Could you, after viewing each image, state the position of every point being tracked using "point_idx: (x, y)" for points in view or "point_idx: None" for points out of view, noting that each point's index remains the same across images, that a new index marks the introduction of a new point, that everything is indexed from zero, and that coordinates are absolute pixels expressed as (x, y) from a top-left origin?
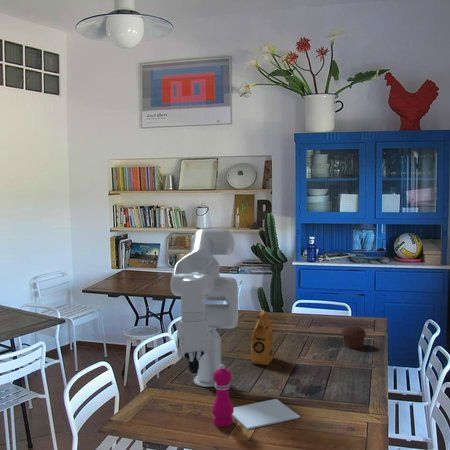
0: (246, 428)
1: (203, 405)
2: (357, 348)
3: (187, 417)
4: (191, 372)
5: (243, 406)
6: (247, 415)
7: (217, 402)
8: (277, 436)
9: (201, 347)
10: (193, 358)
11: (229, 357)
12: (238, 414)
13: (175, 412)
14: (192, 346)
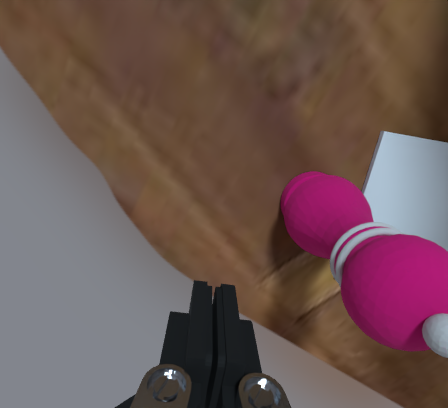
0: None
1: (347, 31)
2: None
3: (237, 94)
4: (189, 309)
5: (442, 149)
6: (397, 214)
7: (308, 238)
8: (367, 338)
9: None
10: (237, 362)
11: None
12: (381, 192)
13: (221, 20)
14: None
